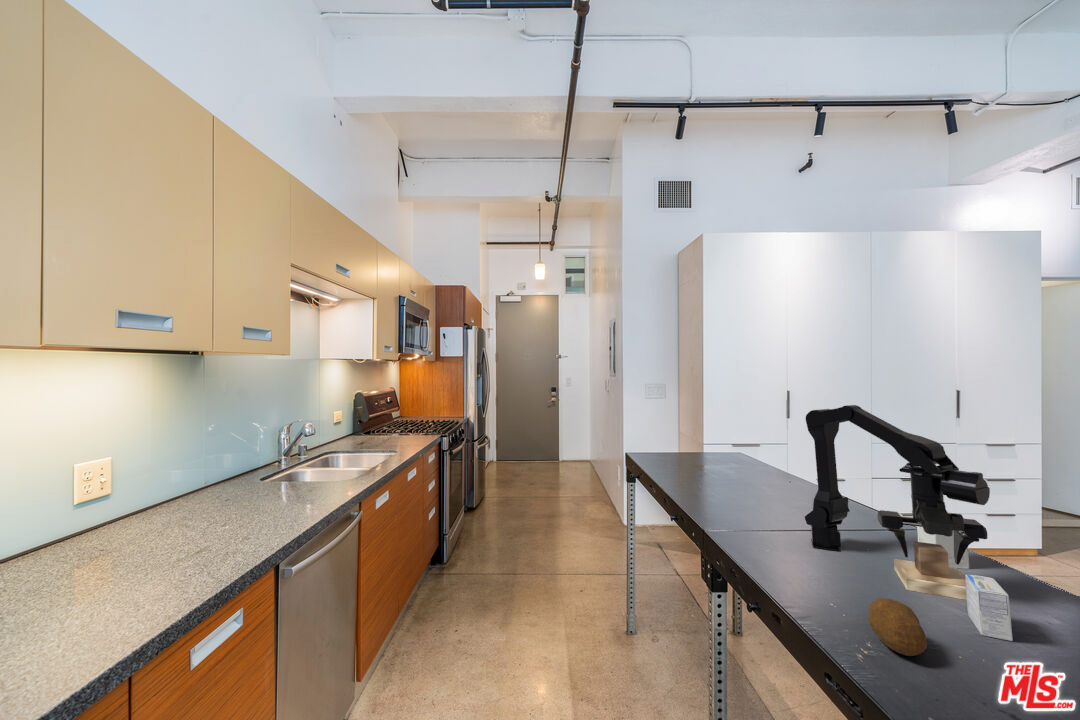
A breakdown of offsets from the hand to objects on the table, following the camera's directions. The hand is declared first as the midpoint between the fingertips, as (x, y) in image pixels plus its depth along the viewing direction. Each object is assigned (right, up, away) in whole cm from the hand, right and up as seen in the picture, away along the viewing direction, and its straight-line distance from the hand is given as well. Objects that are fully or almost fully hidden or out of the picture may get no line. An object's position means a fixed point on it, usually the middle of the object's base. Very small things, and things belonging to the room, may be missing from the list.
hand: (931, 560), depth 102 cm
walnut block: (0, -3, 0) cm, 3 cm away
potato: (-27, -6, -22) cm, 35 cm away
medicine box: (-5, -5, -18) cm, 19 cm away
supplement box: (+13, -6, +11) cm, 18 cm away
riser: (0, -6, 0) cm, 6 cm away
